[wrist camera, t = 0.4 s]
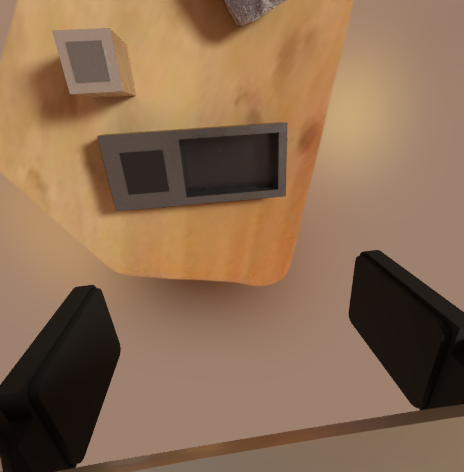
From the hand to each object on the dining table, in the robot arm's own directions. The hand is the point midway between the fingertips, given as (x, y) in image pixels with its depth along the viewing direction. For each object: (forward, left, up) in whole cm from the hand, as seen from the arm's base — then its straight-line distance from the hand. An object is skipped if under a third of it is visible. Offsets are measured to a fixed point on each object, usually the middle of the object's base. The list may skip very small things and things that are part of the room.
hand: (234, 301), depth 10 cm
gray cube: (-12, -10, -29) cm, 32 cm away
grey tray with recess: (-1, -1, -28) cm, 28 cm away
